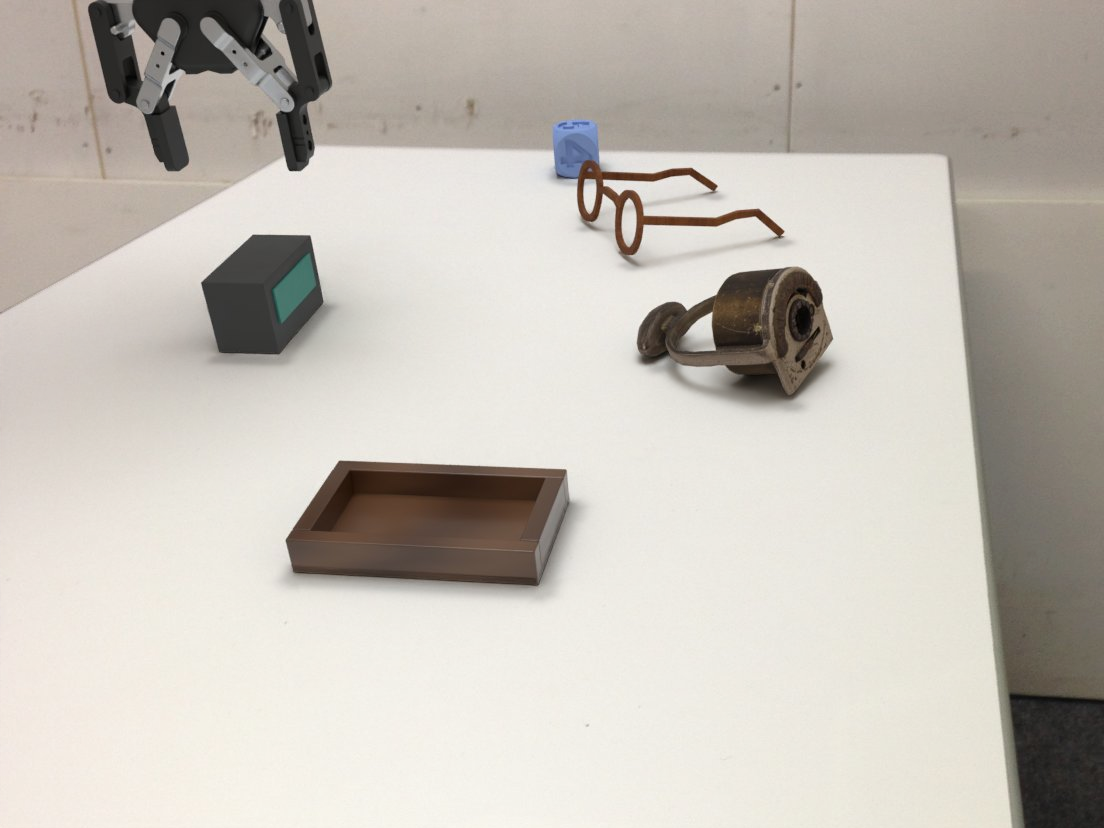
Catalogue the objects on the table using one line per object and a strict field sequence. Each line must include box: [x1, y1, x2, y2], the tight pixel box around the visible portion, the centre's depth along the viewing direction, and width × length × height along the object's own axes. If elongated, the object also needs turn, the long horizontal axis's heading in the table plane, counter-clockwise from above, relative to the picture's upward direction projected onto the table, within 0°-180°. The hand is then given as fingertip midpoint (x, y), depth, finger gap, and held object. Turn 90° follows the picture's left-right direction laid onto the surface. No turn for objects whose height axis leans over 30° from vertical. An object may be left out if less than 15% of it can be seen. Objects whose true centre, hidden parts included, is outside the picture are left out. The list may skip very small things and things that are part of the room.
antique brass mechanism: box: [636, 266, 834, 396], centre depth 81 cm, size 7×13×10 cm
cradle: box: [285, 460, 570, 586], centre depth 68 cm, size 13×8×2 cm, turn 81°
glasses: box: [576, 160, 785, 256], centre depth 103 cm, size 13×13×5 cm
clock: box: [200, 234, 325, 355], centre depth 90 cm, size 9×5×5 cm, turn 171°
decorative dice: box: [552, 118, 601, 179], centre depth 115 cm, size 4×4×4 cm
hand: (239, 168), depth 85 cm, fingers open, 8 cm apart
